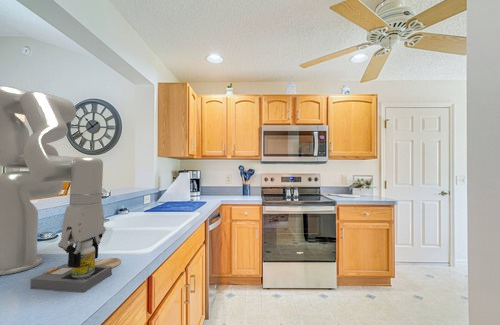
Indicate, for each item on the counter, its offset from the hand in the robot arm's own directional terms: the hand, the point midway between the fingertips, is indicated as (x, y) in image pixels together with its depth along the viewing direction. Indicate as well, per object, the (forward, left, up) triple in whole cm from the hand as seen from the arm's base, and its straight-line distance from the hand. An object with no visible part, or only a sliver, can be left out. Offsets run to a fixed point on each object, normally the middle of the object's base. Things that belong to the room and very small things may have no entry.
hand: (83, 261), depth 65 cm
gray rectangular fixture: (-3, 0, -6) cm, 6 cm away
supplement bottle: (0, 0, -4) cm, 4 cm away
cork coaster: (-2, +11, -6) cm, 12 cm away
